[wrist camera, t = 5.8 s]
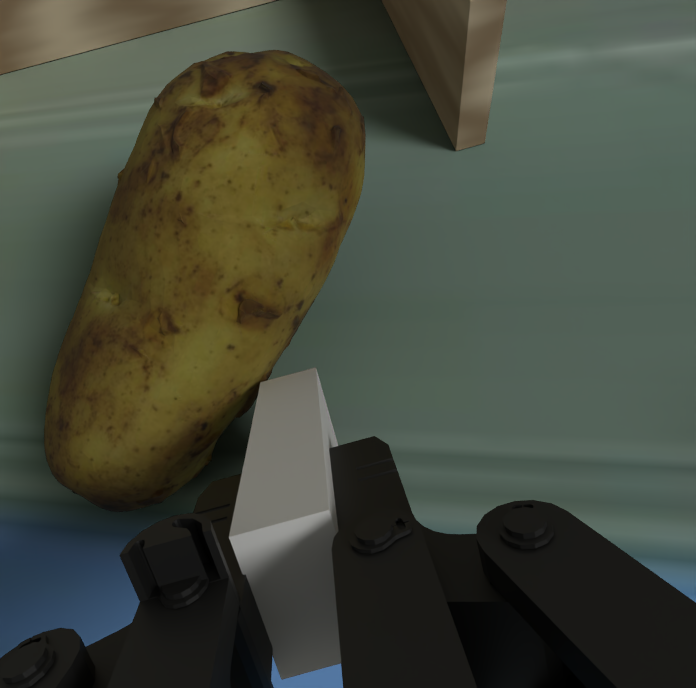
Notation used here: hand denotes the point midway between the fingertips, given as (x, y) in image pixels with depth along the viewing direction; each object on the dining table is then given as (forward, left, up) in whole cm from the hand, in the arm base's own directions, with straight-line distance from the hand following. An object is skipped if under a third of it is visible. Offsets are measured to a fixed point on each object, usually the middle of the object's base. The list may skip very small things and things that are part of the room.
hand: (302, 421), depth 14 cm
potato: (-2, +5, -3) cm, 6 cm away
